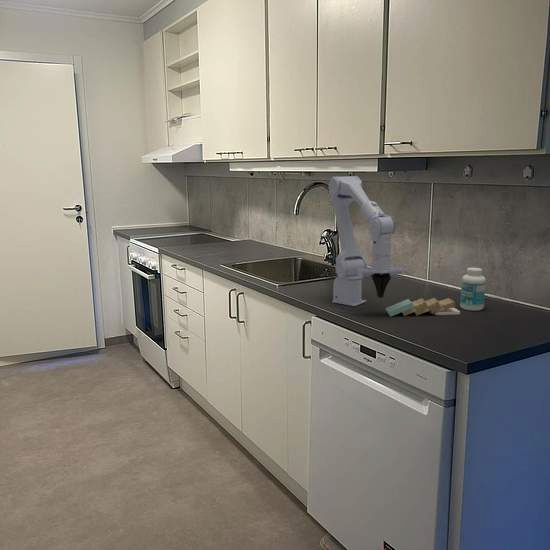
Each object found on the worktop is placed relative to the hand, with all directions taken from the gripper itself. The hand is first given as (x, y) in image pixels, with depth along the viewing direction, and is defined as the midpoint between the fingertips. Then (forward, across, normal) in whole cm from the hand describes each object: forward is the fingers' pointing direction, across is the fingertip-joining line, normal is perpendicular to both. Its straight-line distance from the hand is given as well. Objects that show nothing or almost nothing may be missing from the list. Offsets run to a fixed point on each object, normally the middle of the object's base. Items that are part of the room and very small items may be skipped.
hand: (380, 296), depth 170 cm
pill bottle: (+6, +32, +4) cm, 33 cm away
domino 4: (+5, +16, -1) cm, 17 cm away
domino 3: (+5, +11, 0) cm, 12 cm away
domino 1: (+5, +3, 0) cm, 6 cm away
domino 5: (+6, +18, 0) cm, 19 cm away
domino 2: (+5, +7, 0) cm, 9 cm away
